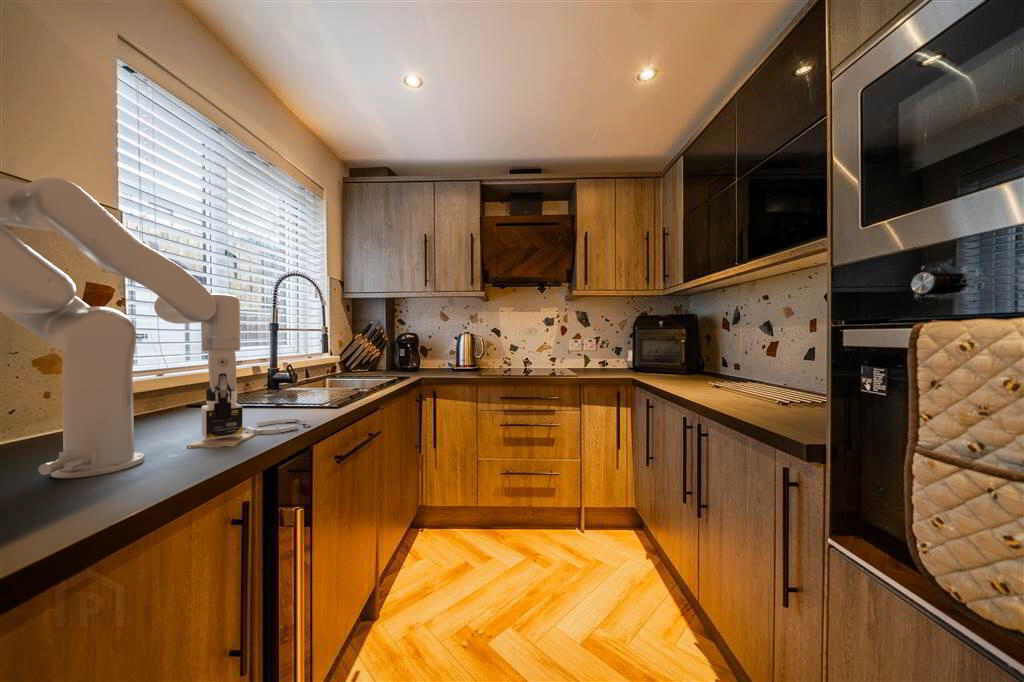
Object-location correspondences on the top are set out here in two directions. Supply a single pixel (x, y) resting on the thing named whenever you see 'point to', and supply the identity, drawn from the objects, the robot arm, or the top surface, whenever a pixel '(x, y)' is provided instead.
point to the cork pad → (222, 441)
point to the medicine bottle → (223, 427)
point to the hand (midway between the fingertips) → (221, 416)
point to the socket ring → (274, 430)
